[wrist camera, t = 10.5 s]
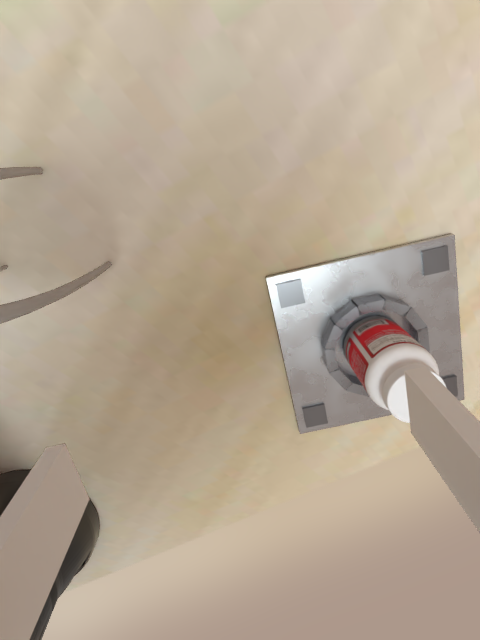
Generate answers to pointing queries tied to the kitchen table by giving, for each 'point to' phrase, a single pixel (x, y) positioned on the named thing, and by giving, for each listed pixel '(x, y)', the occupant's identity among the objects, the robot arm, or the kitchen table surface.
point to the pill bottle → (386, 361)
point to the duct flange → (354, 305)
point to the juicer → (36, 302)
